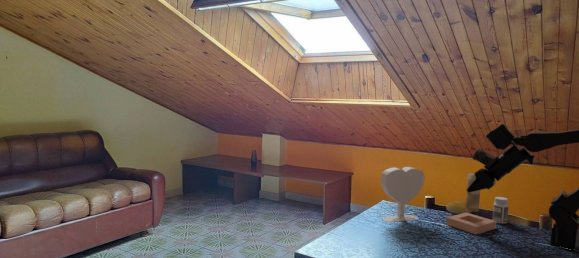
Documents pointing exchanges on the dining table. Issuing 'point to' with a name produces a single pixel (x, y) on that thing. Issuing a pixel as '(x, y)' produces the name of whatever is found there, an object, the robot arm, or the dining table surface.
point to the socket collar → (471, 223)
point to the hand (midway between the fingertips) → (469, 189)
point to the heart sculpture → (402, 188)
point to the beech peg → (472, 195)
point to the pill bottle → (500, 210)
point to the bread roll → (457, 207)
